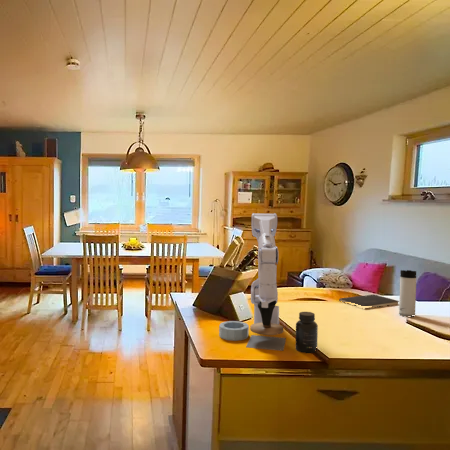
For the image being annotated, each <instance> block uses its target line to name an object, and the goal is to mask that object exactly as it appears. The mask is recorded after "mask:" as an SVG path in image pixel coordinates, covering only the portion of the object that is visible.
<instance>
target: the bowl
mask: <svg viewBox="0 0 450 450" xmlns="http://www.w3.org/2000/svg"><path fill="white" fill-rule="evenodd" d="M249 326H250V325H249V324H248V323H247V322H244V321H238V320H229V321H228V320H227V321H223V322H220V324H219V327H218V332H219V333H218V337H220V338H221V339H223V340H226V341H233V342H236V341H243V340H244V341H245V340H246V339H248V337H249V330H250V328H249Z"/></svg>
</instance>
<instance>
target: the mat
mask: <svg viewBox="0 0 450 450" xmlns="http://www.w3.org/2000/svg"><path fill="white" fill-rule="evenodd" d="M286 338H287V337H278V336H269V335H254V334H252V335H251V334H250V338H249V340H248V341H247V344H246V346H245V348H251V349H258V350H259V349H260V350H261V349H262V350H271V351H280V352H282V351H284V350H285V345H286V340H287V339H286Z"/></svg>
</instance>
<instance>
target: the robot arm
mask: <svg viewBox="0 0 450 450" xmlns="http://www.w3.org/2000/svg"><path fill="white" fill-rule="evenodd" d="M277 227H278V215H277V213H275V212H274V213H255V212H252V214H251V233H252V236H253V237H255V238H256V240H257V247H258V249H257V263H258V265H257V266H258V267H257V269H258V273H257V274H258V278H256V280H254V281H253V282H251V287H250V303H251V304H252V305H253V324H255V323H263V325H266V326H269V325H270V321H271V323H275V324H279V325H280V306H279V305H276V304H277V303H278V296H279V294H278V286H277V265H278V264H279V263H278V262H279V248H278V246H276V241H275V239H276V238H275V236H276V233H277Z"/></svg>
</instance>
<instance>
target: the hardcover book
mask: <svg viewBox="0 0 450 450" xmlns="http://www.w3.org/2000/svg"><path fill="white" fill-rule="evenodd" d="M338 300H339V301H342V302H351V303H355V304H358V305H361V306H372V307H376V308H378V307H377V306H383V307H388V306H387V305H390V306H396V304H398V305H399V300H396V299H393V298H389V297H384V296H382V295H377V294H368V295H367V294H366V295H356V296H348V297H340V298H339V299H338ZM339 301H338V302H339ZM342 302H341V303H342Z"/></svg>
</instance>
